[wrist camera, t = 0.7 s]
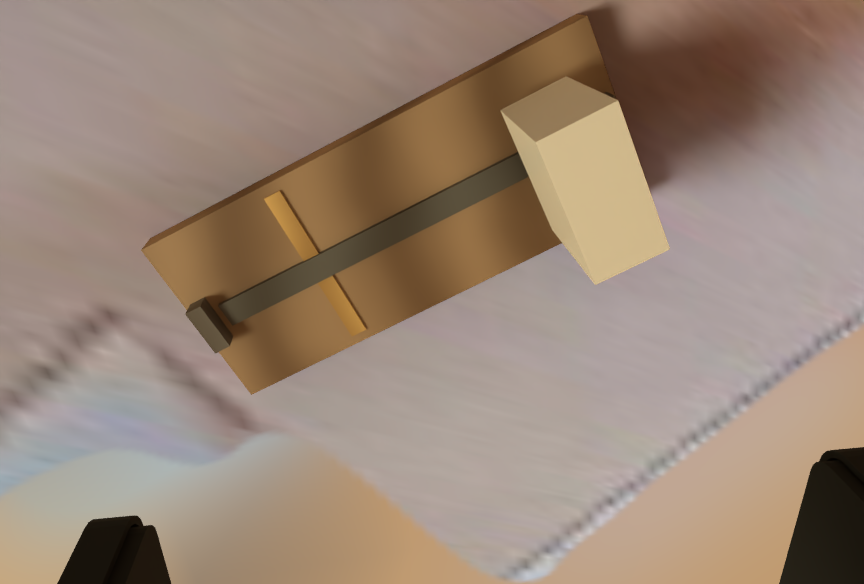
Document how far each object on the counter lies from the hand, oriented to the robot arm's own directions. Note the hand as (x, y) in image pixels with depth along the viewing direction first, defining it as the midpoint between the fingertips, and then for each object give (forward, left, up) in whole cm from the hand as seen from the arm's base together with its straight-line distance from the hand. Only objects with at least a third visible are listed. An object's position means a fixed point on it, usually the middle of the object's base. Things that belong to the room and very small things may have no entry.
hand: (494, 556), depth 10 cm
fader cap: (-7, -2, -22) cm, 23 cm away
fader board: (-1, +3, -24) cm, 24 cm away
